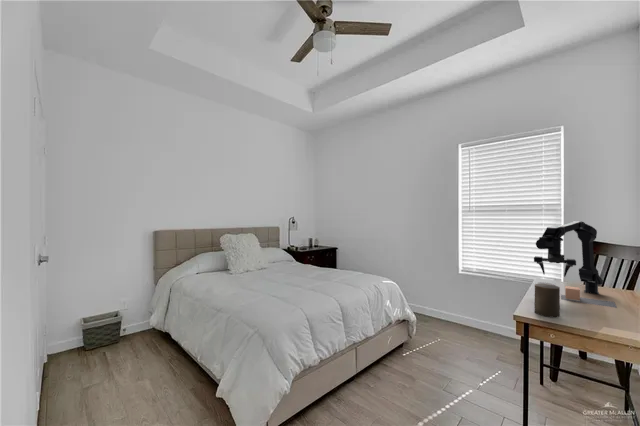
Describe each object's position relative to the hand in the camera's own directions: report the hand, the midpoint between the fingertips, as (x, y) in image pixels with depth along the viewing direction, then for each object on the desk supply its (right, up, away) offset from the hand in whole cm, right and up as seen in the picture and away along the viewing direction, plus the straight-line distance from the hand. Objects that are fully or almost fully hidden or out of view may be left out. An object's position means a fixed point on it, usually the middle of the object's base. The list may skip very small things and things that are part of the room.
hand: (554, 275), depth 166 cm
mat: (+11, -12, -8) cm, 19 cm away
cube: (+7, -12, -4) cm, 14 cm away
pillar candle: (-25, -13, -26) cm, 38 cm away
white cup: (-11, -13, -9) cm, 19 cm away
